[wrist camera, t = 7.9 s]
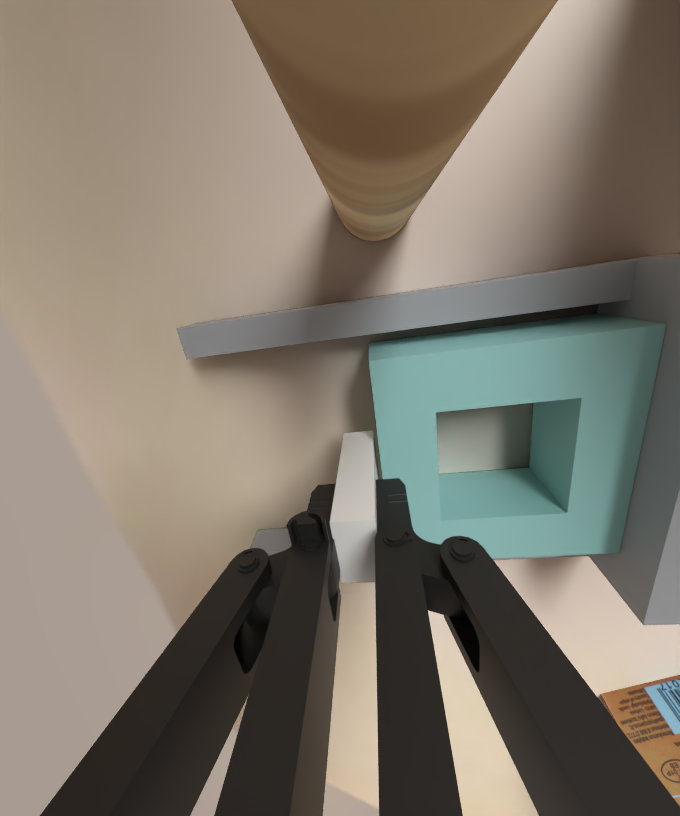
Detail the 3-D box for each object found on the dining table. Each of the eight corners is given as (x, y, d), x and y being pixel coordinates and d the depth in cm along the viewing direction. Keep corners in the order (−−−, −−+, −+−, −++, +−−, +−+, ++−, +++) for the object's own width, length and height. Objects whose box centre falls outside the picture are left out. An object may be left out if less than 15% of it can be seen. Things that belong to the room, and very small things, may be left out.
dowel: (329, 156, 14) (-40, -964, 1) (413, 139, 14) (1026, -1780, 1) (341, 247, 16) (208, 102, 3) (418, 233, 15) (706, -19, 2)
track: (197, 323, 18) (117, 344, 12) (652, 255, 15) (824, 241, 9) (263, 546, 23) (229, 632, 18) (603, 528, 20) (692, 624, 15)
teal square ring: (368, 343, 17) (368, 360, 13) (596, 313, 16) (666, 324, 12) (388, 512, 21) (392, 562, 17) (572, 501, 20) (619, 552, 16)
